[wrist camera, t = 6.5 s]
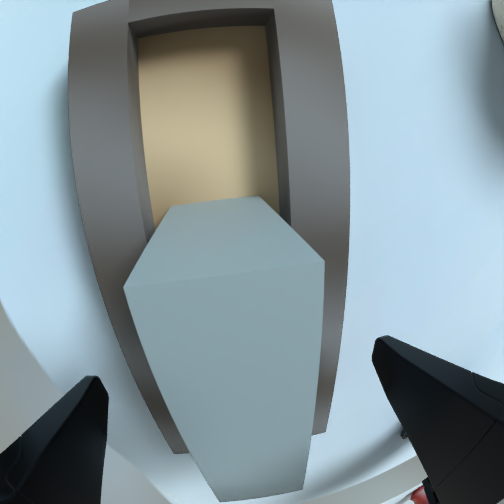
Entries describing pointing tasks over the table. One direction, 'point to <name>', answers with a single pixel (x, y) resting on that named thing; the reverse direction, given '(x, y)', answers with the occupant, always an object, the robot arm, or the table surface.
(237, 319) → the light blue block
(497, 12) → the teacup with lid
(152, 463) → the table surface
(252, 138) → the grey and beige frame
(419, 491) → the liquor
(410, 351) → the robot arm
